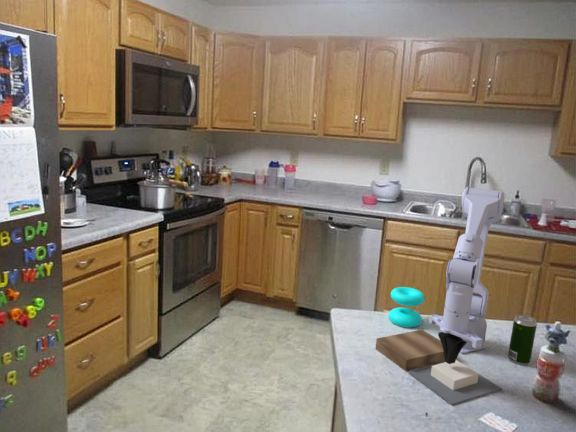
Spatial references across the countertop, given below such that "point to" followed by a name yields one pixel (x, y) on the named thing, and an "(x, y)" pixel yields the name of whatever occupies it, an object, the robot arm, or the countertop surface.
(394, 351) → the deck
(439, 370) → the tile
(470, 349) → the robot arm
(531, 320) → the beer can
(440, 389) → the mat
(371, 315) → the countertop surface
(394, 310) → the donuts
